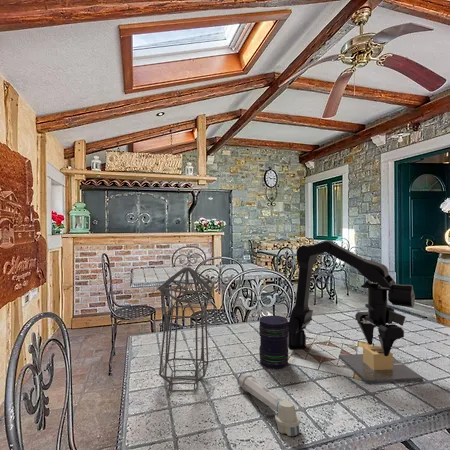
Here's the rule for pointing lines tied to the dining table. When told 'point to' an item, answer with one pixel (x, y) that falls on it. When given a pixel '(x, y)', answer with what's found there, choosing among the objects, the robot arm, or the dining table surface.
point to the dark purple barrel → (273, 342)
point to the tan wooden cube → (377, 358)
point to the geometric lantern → (209, 289)
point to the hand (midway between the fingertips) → (377, 349)
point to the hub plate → (379, 371)
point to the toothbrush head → (273, 404)
